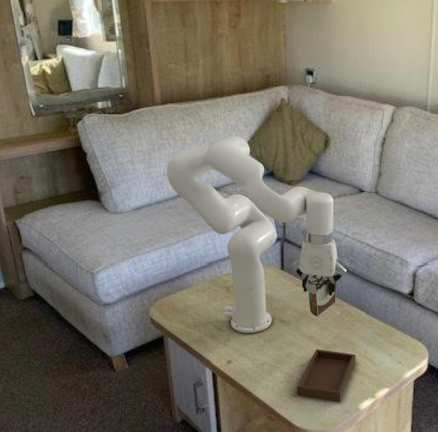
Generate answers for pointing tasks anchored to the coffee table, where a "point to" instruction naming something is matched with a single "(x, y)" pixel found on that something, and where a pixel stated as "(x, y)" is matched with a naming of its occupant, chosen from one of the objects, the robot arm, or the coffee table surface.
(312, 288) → the lattice half-cylinder
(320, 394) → the tray
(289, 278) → the coffee table surface
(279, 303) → the coffee table surface
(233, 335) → the coffee table surface
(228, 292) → the coffee table surface
